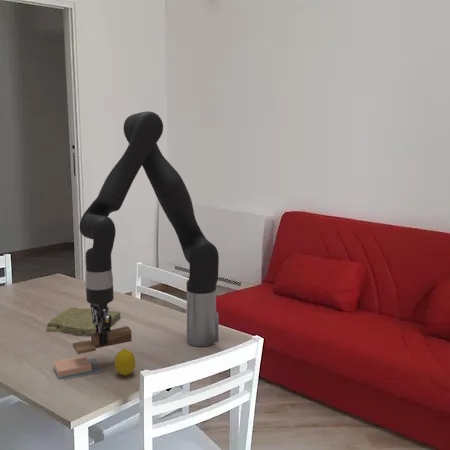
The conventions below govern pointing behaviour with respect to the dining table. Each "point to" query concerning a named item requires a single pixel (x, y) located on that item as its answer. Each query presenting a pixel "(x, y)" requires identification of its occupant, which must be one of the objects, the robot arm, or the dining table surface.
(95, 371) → the slate mat
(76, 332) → the olive green stone slab
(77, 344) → the brown long stepped block
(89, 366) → the pink scouring sponge
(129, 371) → the lemon
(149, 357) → the dining table surface
